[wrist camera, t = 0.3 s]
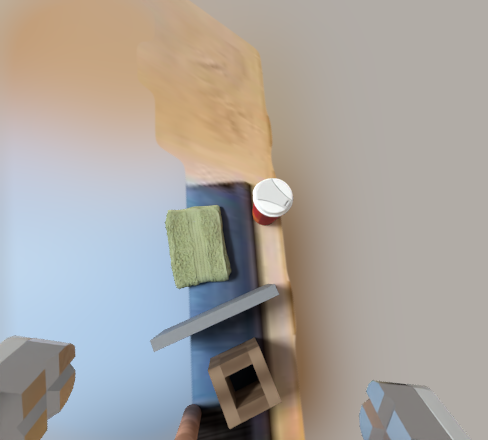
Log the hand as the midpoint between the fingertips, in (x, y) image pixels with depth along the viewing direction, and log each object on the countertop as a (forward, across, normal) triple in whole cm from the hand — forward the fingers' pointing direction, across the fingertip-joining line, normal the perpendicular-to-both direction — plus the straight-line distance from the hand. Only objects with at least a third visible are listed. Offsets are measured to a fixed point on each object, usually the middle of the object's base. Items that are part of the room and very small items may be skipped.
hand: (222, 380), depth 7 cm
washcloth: (+52, -7, -16) cm, 55 cm away
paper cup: (+56, +7, -7) cm, 57 cm away
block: (+40, +6, -37) cm, 55 cm away
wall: (+45, -1, -28) cm, 53 cm away
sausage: (+36, -3, -45) cm, 58 cm away
